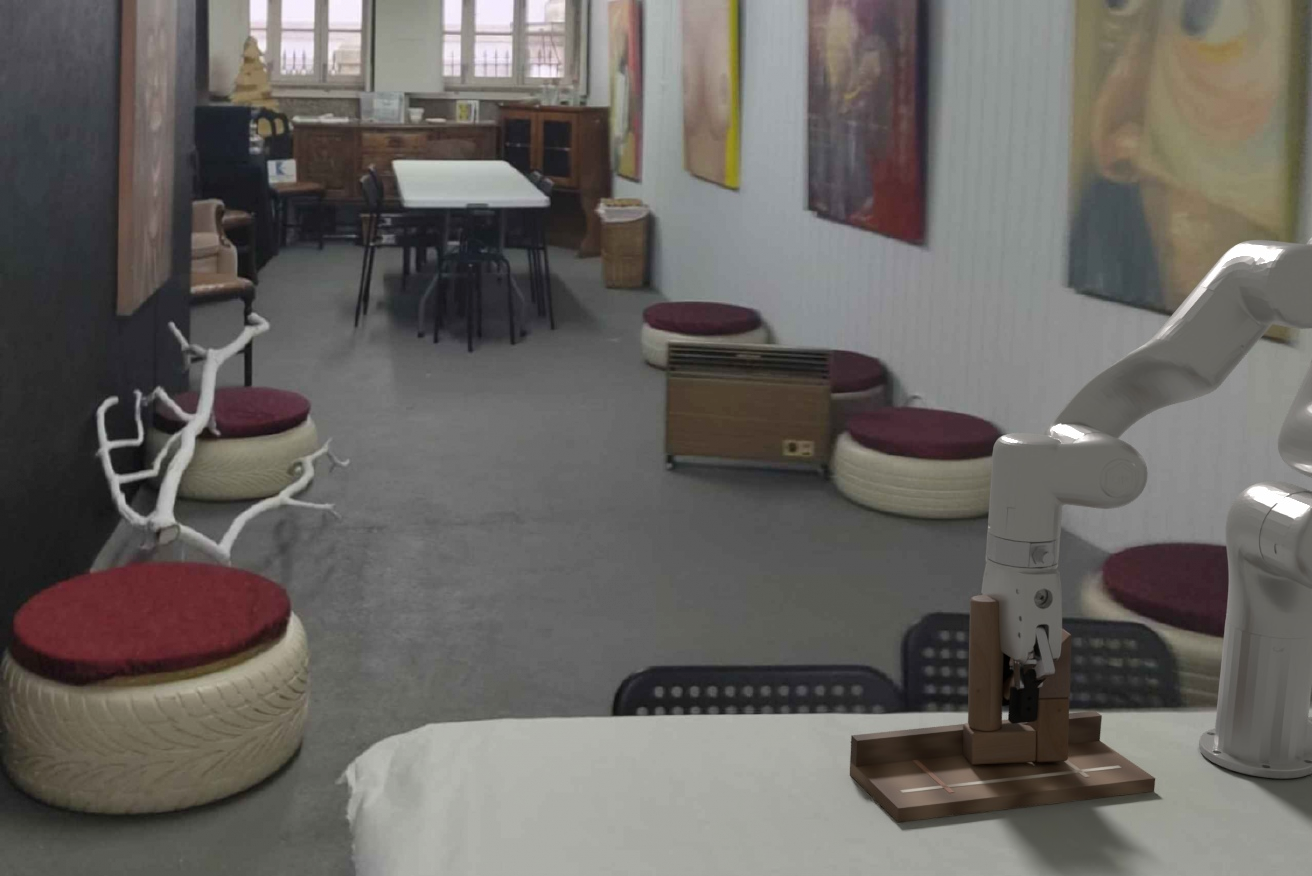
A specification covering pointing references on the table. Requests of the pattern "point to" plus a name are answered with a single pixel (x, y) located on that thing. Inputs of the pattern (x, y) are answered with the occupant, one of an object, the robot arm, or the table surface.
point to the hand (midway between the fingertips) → (1010, 711)
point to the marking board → (986, 772)
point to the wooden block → (985, 727)
